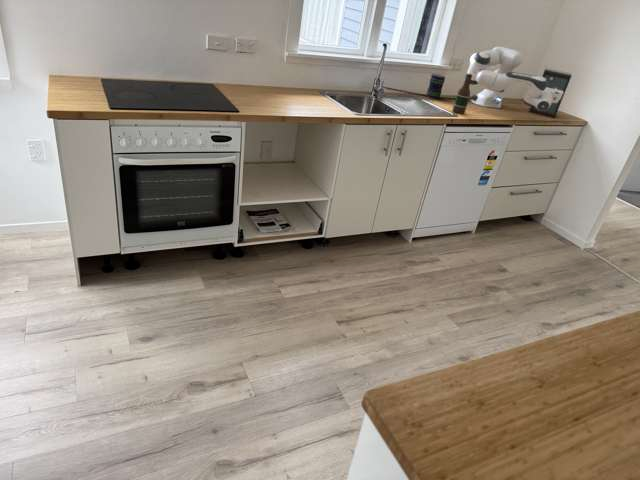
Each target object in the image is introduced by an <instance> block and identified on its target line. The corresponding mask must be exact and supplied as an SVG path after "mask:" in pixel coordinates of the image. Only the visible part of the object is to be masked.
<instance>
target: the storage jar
mask: <svg viewBox="0 0 640 480" xmlns="http://www.w3.org/2000/svg"><path fill="white" fill-rule="evenodd" d="M445 80H446V76H445V75H442V74H437V73H431V76H430V78H429V84H428V87H427V90H426V95H427V96H426V97H427V98H429V99H433V100H440V99H441V98H440V97H441V96H442V90H443V86H444V83H445Z"/></svg>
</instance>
